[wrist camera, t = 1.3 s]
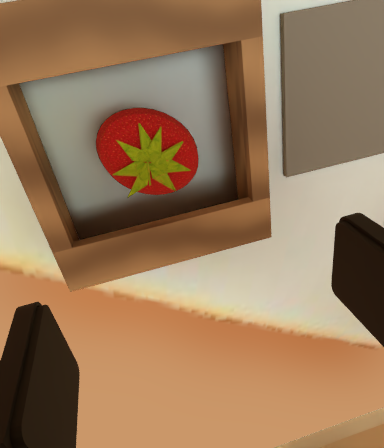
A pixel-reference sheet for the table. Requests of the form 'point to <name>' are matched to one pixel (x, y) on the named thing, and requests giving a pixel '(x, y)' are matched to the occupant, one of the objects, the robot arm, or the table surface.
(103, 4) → the wooden box
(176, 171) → the strawberry
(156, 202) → the table surface
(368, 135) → the mat
